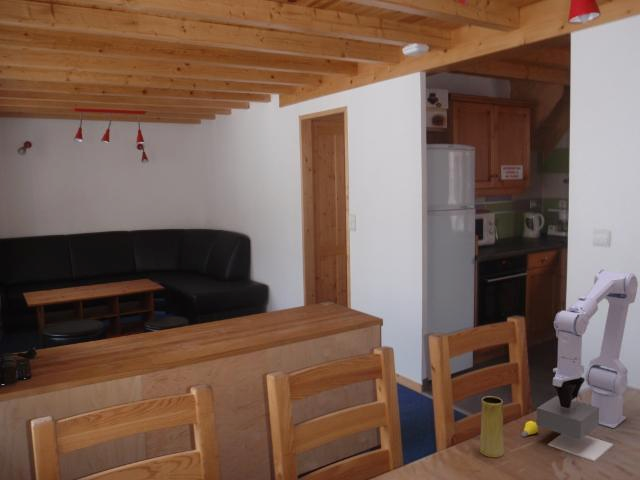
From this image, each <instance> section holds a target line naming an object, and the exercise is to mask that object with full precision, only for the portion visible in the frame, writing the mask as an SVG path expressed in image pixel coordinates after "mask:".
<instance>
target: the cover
mask: <svg viewBox="0 0 640 480" xmlns="http://www.w3.org/2000/svg"><path fill="white" fill-rule="evenodd" d="M536 424H537V426H538V428H539V427H540V428H543V429H546V430H549V431H552V432H555V433H557V434H560V435H561V434H564V435H567V436H570V437H573V438H576V439H579V440H581V439H582V438H583V437H585V436H586V435H587V436H588V435H589V434H591V432H592V431H594V430H596V429H597V428H598V427H599V426H600V424H599V408H598V407H595V406H591V404H587V403H584V402H580V401H577V400H576V397H574V396H572V398H571V404H570V407H569V408H565V407H562V406H561V405H560V401H559V397H558V395H556V396H554V397H552V398H551V399H549V400H547V401H545V402H544V403H542V404H541V405H540V406H538V407H536Z"/></svg>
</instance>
